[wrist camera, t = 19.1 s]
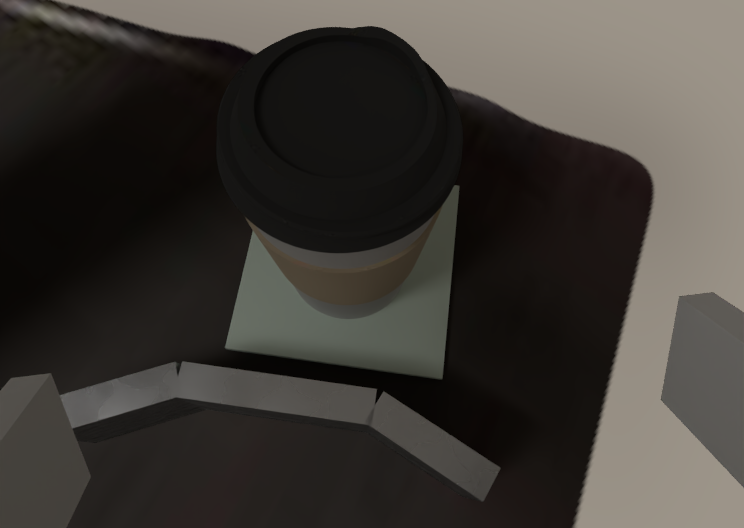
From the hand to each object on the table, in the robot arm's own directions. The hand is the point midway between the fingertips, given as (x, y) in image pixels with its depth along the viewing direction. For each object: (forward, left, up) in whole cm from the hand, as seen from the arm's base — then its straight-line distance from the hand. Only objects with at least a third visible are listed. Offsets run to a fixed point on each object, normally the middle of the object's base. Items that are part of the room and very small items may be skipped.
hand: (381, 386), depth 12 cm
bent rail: (-4, 0, -18) cm, 19 cm away
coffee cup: (-3, +9, -18) cm, 20 cm away
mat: (-2, +10, -18) cm, 21 cm away
